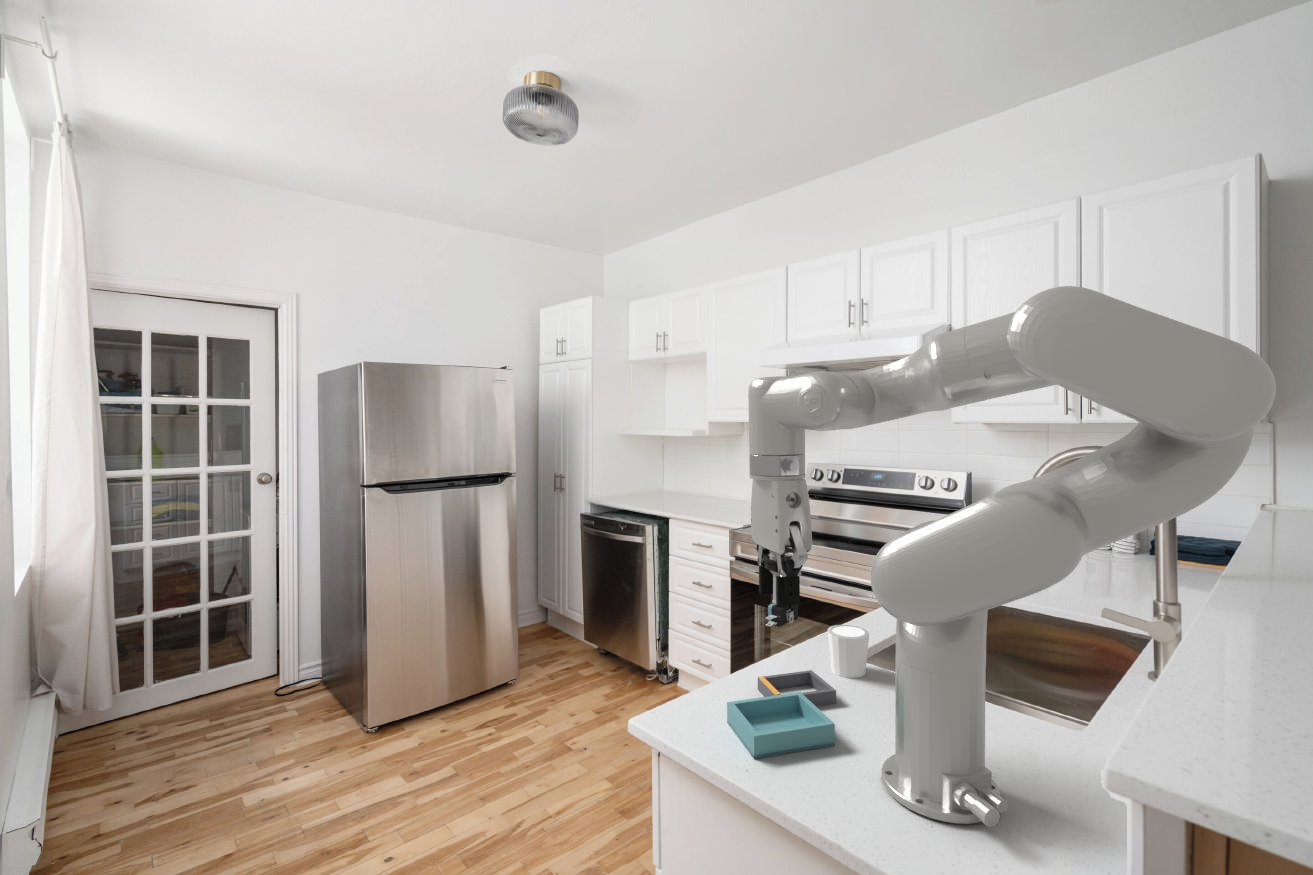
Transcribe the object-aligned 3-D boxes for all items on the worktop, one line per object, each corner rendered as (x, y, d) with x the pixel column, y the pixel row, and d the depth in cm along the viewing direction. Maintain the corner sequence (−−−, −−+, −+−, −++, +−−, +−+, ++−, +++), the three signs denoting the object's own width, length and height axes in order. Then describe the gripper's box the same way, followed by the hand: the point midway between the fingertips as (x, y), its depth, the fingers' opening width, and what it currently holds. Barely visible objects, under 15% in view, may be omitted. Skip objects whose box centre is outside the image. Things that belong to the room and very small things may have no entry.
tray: (834, 745, 80) (834, 723, 80) (754, 758, 78) (753, 736, 77) (800, 711, 90) (800, 691, 90) (727, 722, 87) (727, 702, 87)
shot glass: (839, 659, 109) (839, 621, 108) (876, 670, 104) (876, 630, 103) (819, 671, 104) (819, 631, 103) (857, 683, 99) (857, 641, 99)
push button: (784, 634, 79) (785, 559, 78) (750, 624, 82) (750, 552, 82) (808, 620, 84) (809, 549, 83) (774, 612, 87) (775, 543, 87)
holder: (836, 703, 92) (836, 688, 92) (778, 711, 90) (778, 696, 90) (811, 681, 100) (811, 668, 99) (757, 689, 97) (757, 675, 97)
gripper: (834, 471, 75) (836, 615, 76) (775, 462, 91) (777, 580, 92) (779, 473, 73) (781, 621, 74) (729, 464, 90) (730, 585, 90)
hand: (778, 597), depth 83 cm, fingers closed on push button, 4 cm apart
